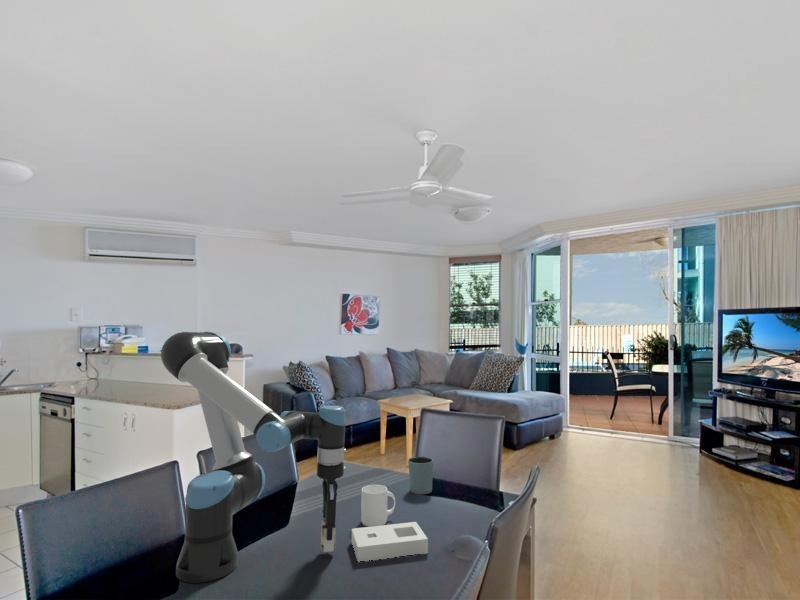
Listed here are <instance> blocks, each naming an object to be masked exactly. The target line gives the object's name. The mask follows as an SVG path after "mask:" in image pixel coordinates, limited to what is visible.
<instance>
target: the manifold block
mask: <svg viewBox="0 0 800 600" xmlns="http://www.w3.org/2000/svg"><path fill="white" fill-rule="evenodd" d="M351 545H353V546H352V548H354V549H353V552H354V551H355V552H354V555H355V559H356V561H358V562H357V563H361V562H360V561H365V562H372V561H371V560H373V561H379V559H381V560H388V559H387V558H389V559H395V558H394V557H397V558H400V557H399V556H405V557H407V556H406V555H413V556H415V555H414V554H421V555H427V553H428V554H429V539H428V537H427V535H426V533H424V531H423V530H422V528H421V527H420V525H419V524H418V522H417V521H411V522H410V521H409V522H402V523H401V522H400V523H390V524H384V525H381V526H372V527H368V526H365V527H356V528H355V527H354V528H351ZM369 560H370V561H369Z"/></svg>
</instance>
